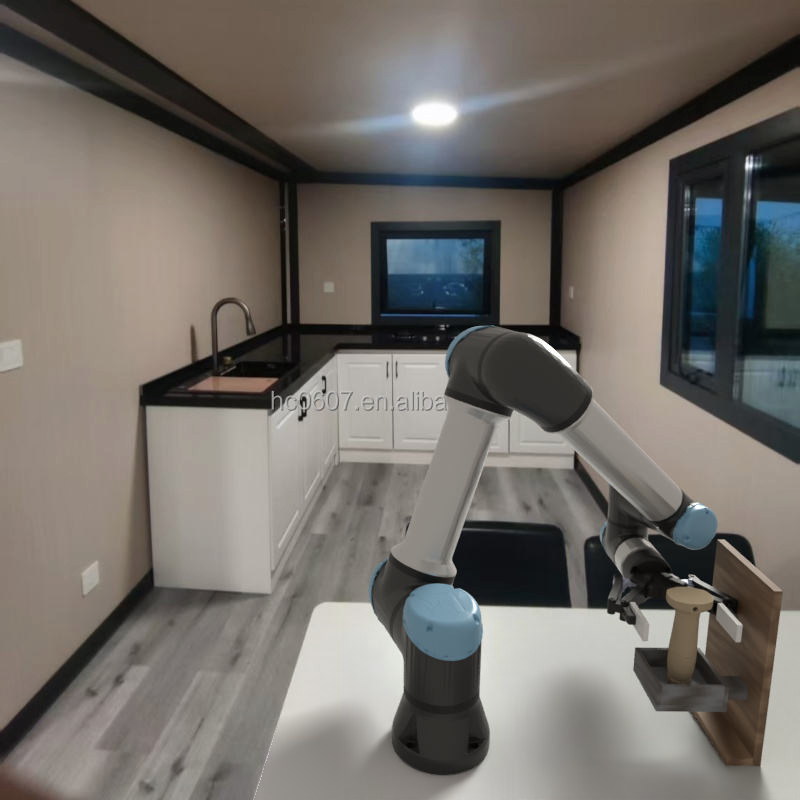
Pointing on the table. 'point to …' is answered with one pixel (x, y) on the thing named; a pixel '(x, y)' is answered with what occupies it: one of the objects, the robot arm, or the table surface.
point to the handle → (685, 631)
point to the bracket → (726, 665)
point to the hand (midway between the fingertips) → (692, 633)
